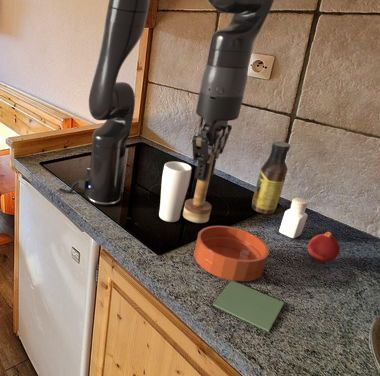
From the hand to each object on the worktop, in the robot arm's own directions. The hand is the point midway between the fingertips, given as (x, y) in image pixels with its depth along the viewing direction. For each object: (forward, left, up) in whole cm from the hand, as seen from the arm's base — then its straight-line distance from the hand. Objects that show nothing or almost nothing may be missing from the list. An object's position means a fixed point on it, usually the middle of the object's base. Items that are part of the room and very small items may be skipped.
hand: (203, 177), depth 81 cm
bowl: (+7, +6, -21) cm, 23 cm away
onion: (+22, +21, -21) cm, 37 cm away
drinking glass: (-12, +16, -21) cm, 29 cm away
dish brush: (0, 0, -9) cm, 9 cm away
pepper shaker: (+14, +30, -21) cm, 39 cm away
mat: (+15, -5, -21) cm, 26 cm away
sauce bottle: (+5, +39, -21) cm, 45 cm away
